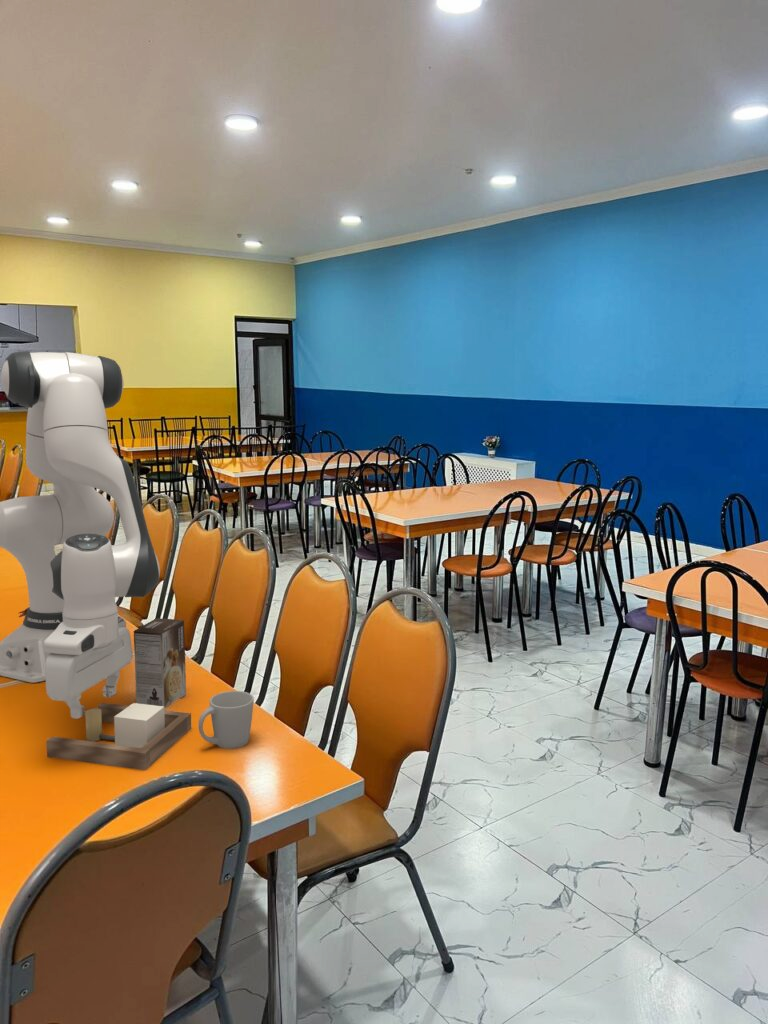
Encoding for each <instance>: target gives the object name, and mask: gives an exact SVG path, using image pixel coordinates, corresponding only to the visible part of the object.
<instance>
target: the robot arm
mask: <svg viewBox="0 0 768 1024" xmlns="http://www.w3.org/2000/svg"><path fill="white" fill-rule="evenodd" d="M0 382H1V386H2V389H3V391H4V393H5V397H6V398H7V399H8V400H9V401H10V402H11V403H13V404H14V405H18V406H20V407H25V408H28V409H27V413H26V414H27V415H26V426H25V427H26V429H25V431H26V433H25V434H26V435H25V465H26V467H27V469H28V471H29V472H30V473H31V474H32V475H33V476H35V477H37V478H39V479H40V480H43V481H45V482H48V483H49V484H52V485H53V493H51V494H43V495H29V496H18V497H13V498H10V499H6V500H2V501H0V548H2V549H4V550H5V551H7V552H9V554H11V555H12V556H13V557H14V558H16V560H17V561H18V562H19V564H20V565H21V567H22V569H23V571H24V575H25V577H26V578H25V579H26V584H27V590H28V592H27V593H28V603H29V604H28V605H29V606H28V607H27V608H25V609H24V610H22V611H19V612H18V614H20V615H18V618H22V617H24V618H23V621H22V624H21V625H20V626H18V627H17V628H15V630H13V631H12V632H11V633H9V634H8V635H7V636H5V637H4V638H3V639H2V640H1V641H0V676H2V677H6V678H10V679H13V680H14V679H15V680H17V681H22V682H27V683H32V684H33V683H39V682H40V683H41V682H44V681H45V689H46V695H47V696H48V697H49V699H51V700H53V701H59V702H65V703H66V705H67V706H68V708H69V710H70V717H71V718H72V719H80V718H82V717H83V716H85V712H86V706H85V705H83V704H81V702H80V700H81V699H82V693H84V692H86V691H87V690H90V688H92V687H94V686H96V685H97V684H99V683H100V682H102V681H103V680H105V679H106V680H105V685H104V686H103V687H102V695H103V697H105V698H110V699H111V698H112V697H114V696H115V695H116V694H117V685H118V681H119V678H120V676H121V675H120V674H121V671H120V670H121V669H123V668H125V667H127V666H128V665H130V664H131V662H132V659H133V645H132V639H131V634H130V630H129V628H128V627H127V622H126V621H127V620H125V618H123V617H122V616H119V612H118V611H119V610H118V606H117V603H116V598H122V597H124V598H145V596H147V595H148V594H150V593H151V592H152V591H153V590H154V589H155V588H156V587H157V585H158V584H159V582H160V575H161V570H160V569H161V568H160V563H159V559H158V556H157V554H156V552H155V550H154V546H153V543H152V541H151V537H150V534H149V529H148V525H147V521H146V519H145V514H144V510H143V506H142V502H141V499H140V495H139V491H138V488H137V485H136V481H135V477H134V474H133V472H132V469H131V467H130V465H129V463H128V462H127V460H125V459H123V458H121V457H119V455H118V454H116V452H115V450H114V449H113V446H112V443H111V442H110V438H109V437H110V436H109V431H108V420H107V413H106V409H109V408H110V409H111V408H113V407H115V406H116V405H117V404H118V403H119V402H120V400H121V398H122V394H123V391H124V386H125V385H124V377H123V373H122V369H121V367H120V364H118V363H117V361H115V359H112V358H109V357H105V356H101V355H97V356H94V355H89V354H83V353H79V352H78V353H77V352H71V351H70V352H68V351H64V352H53V351H52V352H51V351H48V352H47V351H44V352H43V351H39V352H38V351H37V352H36V351H35V352H30V351H29V350H24V351H22V350H21V351H14V352H11V353H9V355H7V357H6V358H5V362H4V364H3V366H2V368H1V372H0ZM96 489H98V490H100V491H101V492H104V493H106V494H107V495H108V496H110V497H111V499H113V500H114V501H115V503H116V505H117V508H118V513H119V517H120V520H121V524H122V529H123V532H124V535H125V540H126V541H125V542H124V543H122V544H113V545H112V542H111V540H110V538H109V537H107V535H108V534H109V533H110V531H111V529H112V528H113V525H114V520H115V514H114V508H113V507H112V505H111V503H110V500H109V499H107V498H106V497H105V496H104V495H103V494H101V493H99V492H98V491H97V490H96ZM59 545H62V550H61V551H60V552H59V553H57V554H56V551H55V546H59Z"/></svg>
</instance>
